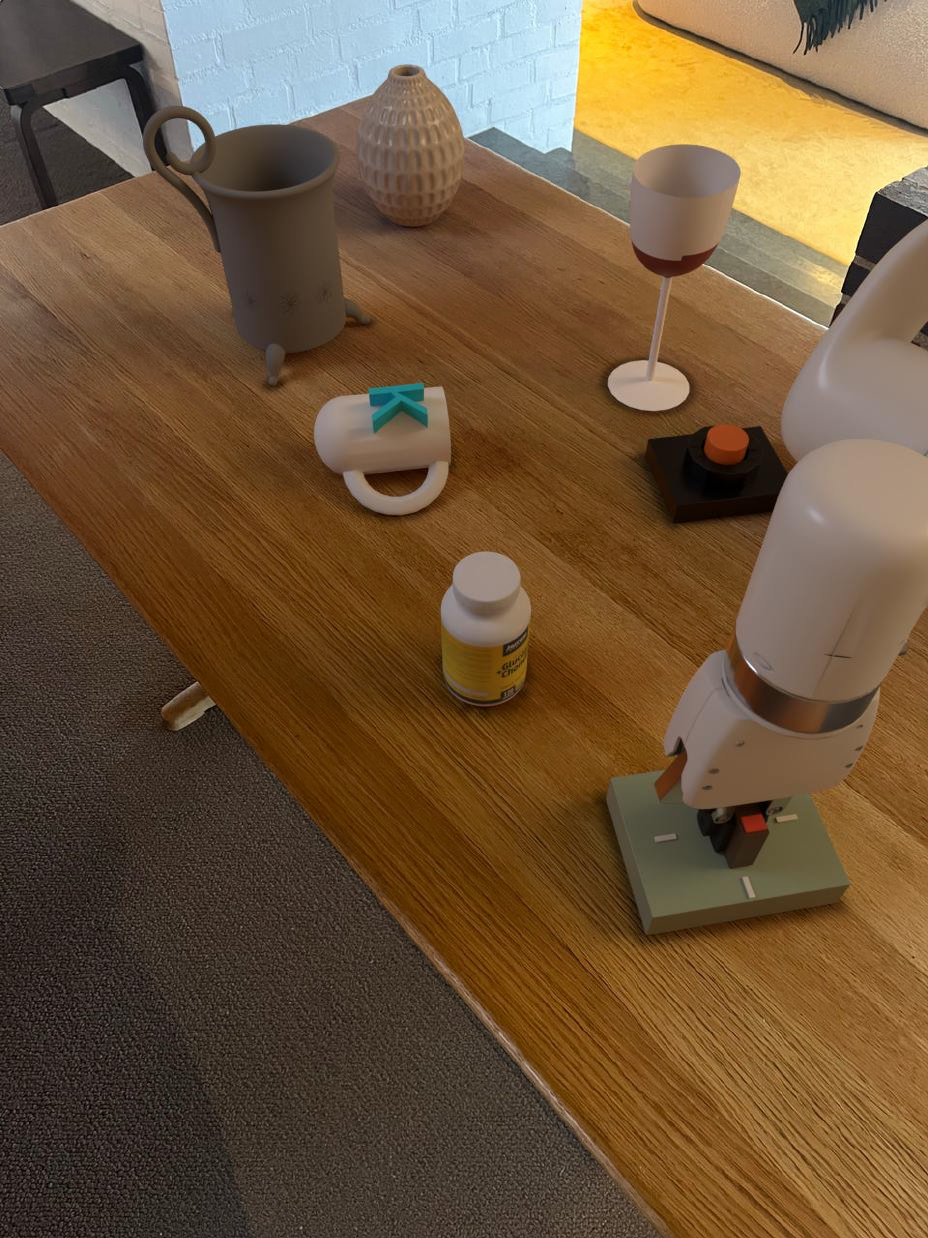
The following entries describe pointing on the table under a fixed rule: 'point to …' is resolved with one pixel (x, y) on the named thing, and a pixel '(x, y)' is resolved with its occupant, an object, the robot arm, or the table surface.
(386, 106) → the vase
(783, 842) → the panel
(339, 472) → the mug
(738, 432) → the button
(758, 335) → the table surface
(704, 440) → the button block
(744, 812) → the handle
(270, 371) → the mug
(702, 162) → the wineglass
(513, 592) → the pill bottle
